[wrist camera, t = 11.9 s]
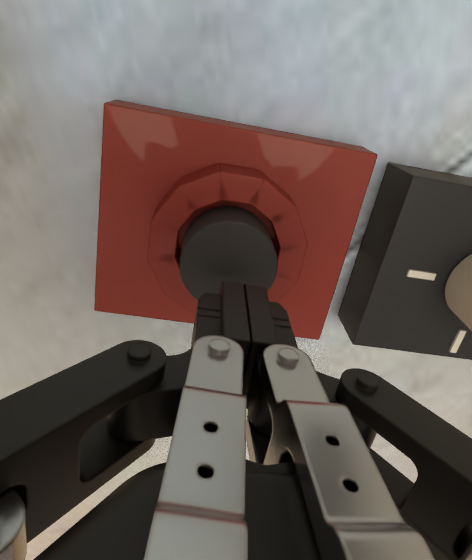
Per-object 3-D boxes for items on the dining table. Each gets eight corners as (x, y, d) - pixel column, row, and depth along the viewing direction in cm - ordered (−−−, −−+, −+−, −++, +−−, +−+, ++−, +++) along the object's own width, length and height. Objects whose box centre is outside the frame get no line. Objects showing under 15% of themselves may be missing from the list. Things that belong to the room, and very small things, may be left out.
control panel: (337, 315, 25) (353, 346, 22) (388, 162, 21) (414, 176, 19) (506, 338, 27) (541, 370, 24) (582, 198, 23) (634, 216, 20)
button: (177, 282, 20) (173, 304, 18) (188, 198, 18) (186, 213, 16) (261, 294, 20) (266, 316, 18) (280, 213, 19) (288, 229, 17)
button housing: (103, 290, 24) (84, 330, 20) (114, 99, 20) (92, 106, 16) (310, 319, 25) (327, 360, 22) (363, 146, 21) (393, 162, 17)
